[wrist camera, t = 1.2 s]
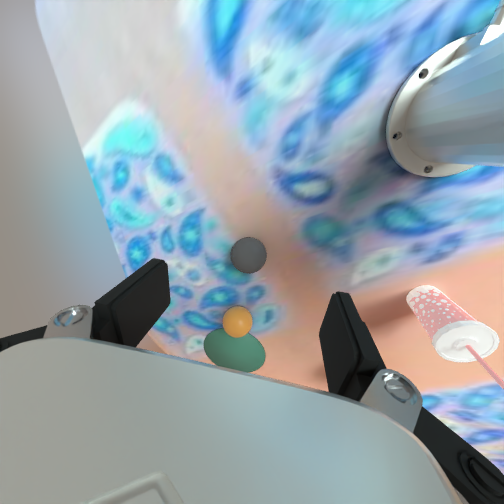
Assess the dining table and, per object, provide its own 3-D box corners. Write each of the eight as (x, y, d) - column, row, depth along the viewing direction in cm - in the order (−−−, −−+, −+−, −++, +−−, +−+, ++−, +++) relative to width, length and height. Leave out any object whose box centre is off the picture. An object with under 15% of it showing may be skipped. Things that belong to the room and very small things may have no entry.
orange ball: (228, 297, 39) (219, 317, 34) (256, 303, 38) (251, 325, 34) (226, 318, 41) (217, 339, 37) (252, 324, 41) (247, 347, 36)
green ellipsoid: (205, 320, 43) (205, 321, 43) (270, 337, 42) (270, 338, 41) (202, 362, 49) (202, 363, 49) (259, 378, 48) (259, 379, 48)
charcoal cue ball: (237, 229, 33) (228, 242, 28) (271, 236, 32) (267, 250, 27) (233, 258, 35) (224, 275, 30) (265, 265, 35) (260, 284, 30)
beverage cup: (392, 303, 33) (451, 392, 21) (419, 274, 31) (505, 357, 18) (426, 317, 33) (506, 414, 21) (456, 290, 31) (569, 383, 18)
